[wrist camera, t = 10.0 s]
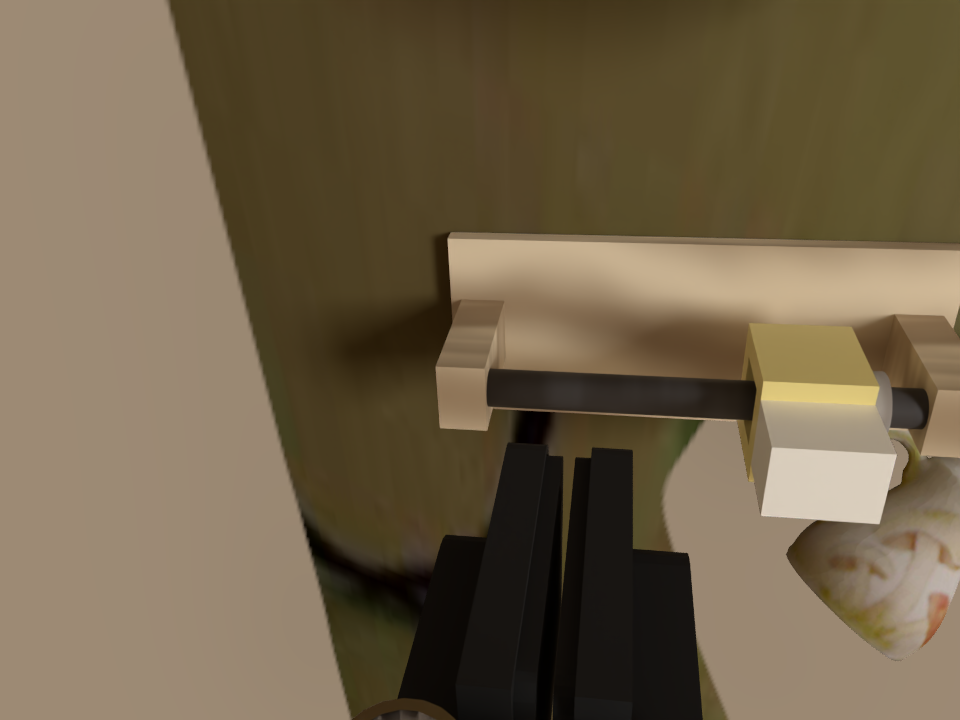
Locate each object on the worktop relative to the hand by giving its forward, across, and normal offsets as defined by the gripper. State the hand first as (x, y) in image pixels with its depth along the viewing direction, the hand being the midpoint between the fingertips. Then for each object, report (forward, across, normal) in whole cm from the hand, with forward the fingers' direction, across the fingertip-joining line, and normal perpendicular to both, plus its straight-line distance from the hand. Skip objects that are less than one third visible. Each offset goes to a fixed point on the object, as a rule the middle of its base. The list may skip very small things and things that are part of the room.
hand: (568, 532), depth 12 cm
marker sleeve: (+23, -8, +11) cm, 27 cm away
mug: (+27, -14, +20) cm, 37 cm away
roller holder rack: (+27, -4, +11) cm, 30 cm away
